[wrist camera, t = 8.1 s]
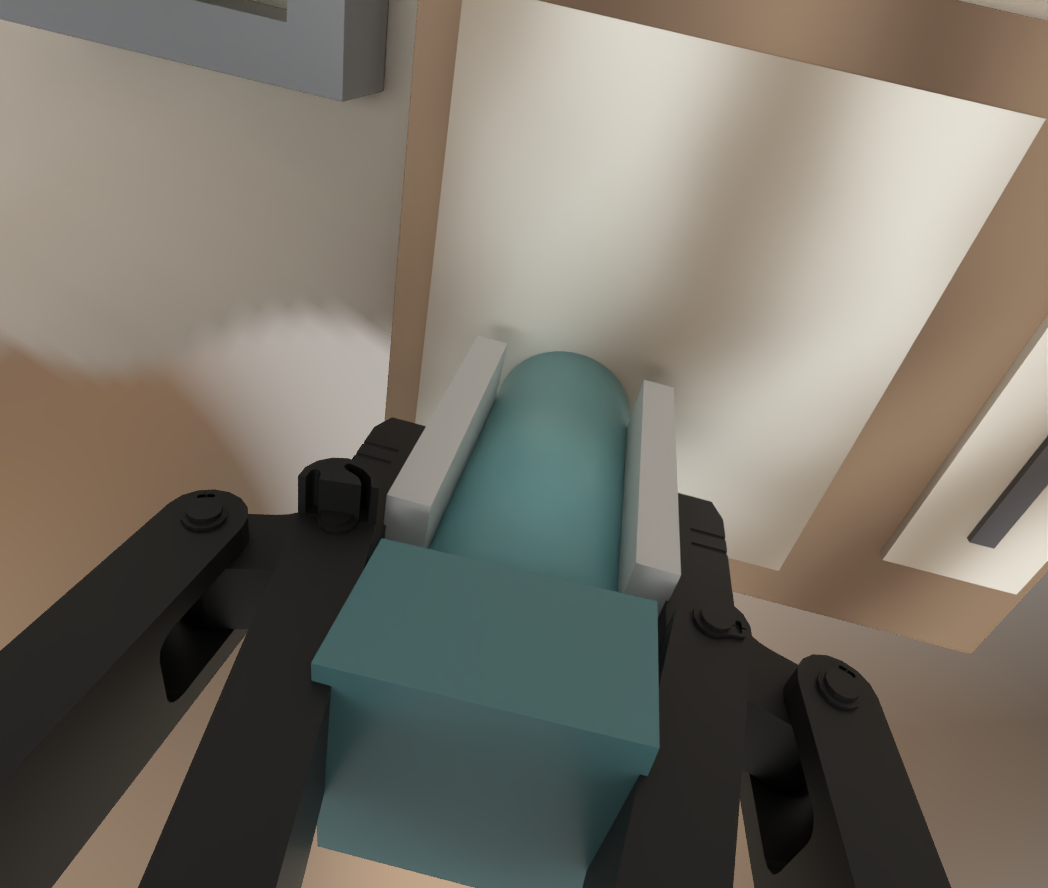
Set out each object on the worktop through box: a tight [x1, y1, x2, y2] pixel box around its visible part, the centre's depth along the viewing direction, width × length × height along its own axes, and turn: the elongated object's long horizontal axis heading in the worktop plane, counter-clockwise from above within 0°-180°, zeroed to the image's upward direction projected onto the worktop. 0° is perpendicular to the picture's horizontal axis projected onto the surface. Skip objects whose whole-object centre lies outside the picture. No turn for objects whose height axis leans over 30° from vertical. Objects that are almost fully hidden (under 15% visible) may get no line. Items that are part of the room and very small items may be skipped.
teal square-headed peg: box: [311, 351, 660, 888], centre depth 14 cm, size 4×4×11 cm
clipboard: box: [385, 0, 1048, 654], centre depth 17 cm, size 20×16×2 cm
